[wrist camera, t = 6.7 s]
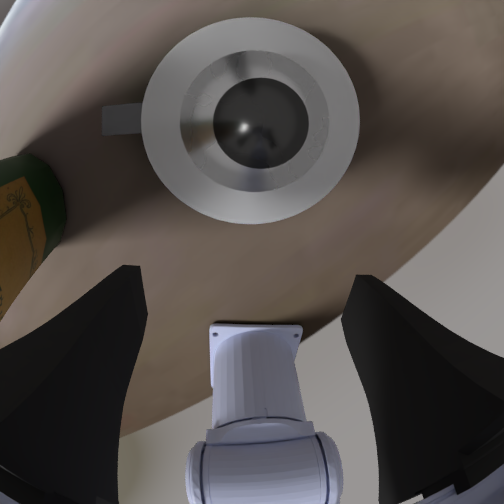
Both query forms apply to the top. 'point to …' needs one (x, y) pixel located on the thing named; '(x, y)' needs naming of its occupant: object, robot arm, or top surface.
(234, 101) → the knobbed lid
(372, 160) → the top surface
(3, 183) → the bottle
